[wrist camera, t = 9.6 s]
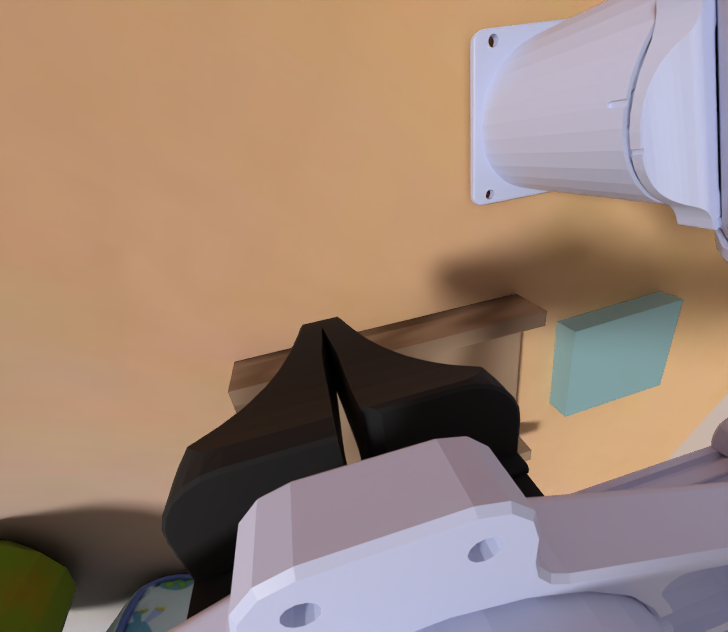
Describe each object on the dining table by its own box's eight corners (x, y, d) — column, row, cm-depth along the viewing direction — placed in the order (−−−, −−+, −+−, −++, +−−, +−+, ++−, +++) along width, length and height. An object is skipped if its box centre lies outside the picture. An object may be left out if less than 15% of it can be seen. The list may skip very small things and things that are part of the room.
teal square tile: (653, 289, 27) (683, 299, 25) (635, 370, 30) (659, 384, 28) (552, 318, 26) (575, 332, 24) (545, 399, 29) (565, 416, 27)
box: (516, 293, 23) (546, 311, 20) (507, 431, 29) (530, 459, 26) (234, 362, 20) (227, 392, 18) (287, 498, 26) (288, 536, 24)
